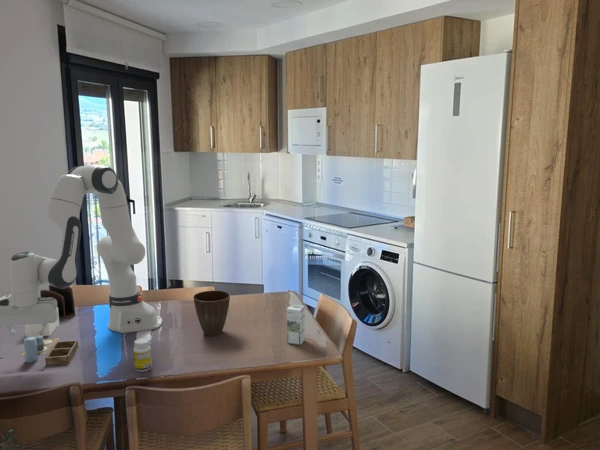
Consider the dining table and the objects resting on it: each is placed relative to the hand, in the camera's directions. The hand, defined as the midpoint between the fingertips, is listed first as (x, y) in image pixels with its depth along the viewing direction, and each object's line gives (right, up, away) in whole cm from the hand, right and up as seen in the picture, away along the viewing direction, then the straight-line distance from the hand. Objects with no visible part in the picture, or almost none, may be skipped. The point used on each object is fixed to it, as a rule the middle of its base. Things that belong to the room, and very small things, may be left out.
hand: (28, 335), depth 187 cm
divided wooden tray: (+10, -10, +6) cm, 15 cm away
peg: (0, -10, +2) cm, 10 cm away
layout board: (-3, -8, +15) cm, 17 cm away
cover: (-10, -5, +32) cm, 34 cm away
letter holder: (-17, -2, +55) cm, 58 cm away
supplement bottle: (+42, -11, -3) cm, 44 cm away
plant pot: (+61, -5, +31) cm, 68 cm away
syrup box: (+96, -7, +20) cm, 98 cm away
